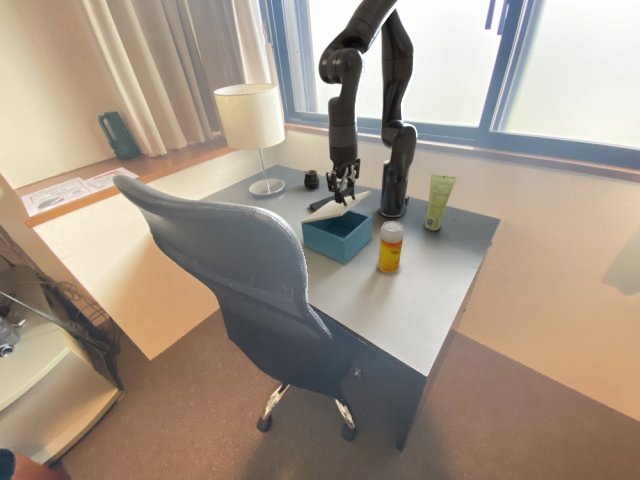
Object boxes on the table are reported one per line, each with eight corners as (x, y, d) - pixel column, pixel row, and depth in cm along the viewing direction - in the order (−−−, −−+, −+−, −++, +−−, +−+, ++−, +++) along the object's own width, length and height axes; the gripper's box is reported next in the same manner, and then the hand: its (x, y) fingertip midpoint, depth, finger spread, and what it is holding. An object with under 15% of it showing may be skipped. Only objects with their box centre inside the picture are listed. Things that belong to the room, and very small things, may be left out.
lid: (371, 192, 84) (365, 177, 82) (341, 215, 74) (333, 198, 73) (331, 203, 97) (325, 189, 96) (301, 223, 87) (294, 209, 86)
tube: (434, 221, 99) (445, 170, 88) (444, 228, 96) (457, 176, 84) (421, 225, 98) (431, 174, 86) (430, 232, 94) (442, 180, 83)
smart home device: (308, 204, 113) (346, 189, 121) (308, 207, 114) (346, 193, 122) (319, 212, 107) (358, 196, 115) (319, 215, 108) (358, 200, 116)
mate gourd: (322, 186, 130) (321, 166, 124) (314, 192, 125) (312, 172, 119) (310, 183, 133) (308, 163, 127) (301, 189, 128) (299, 169, 122)
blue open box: (371, 238, 94) (372, 216, 88) (344, 264, 84) (344, 241, 79) (331, 224, 103) (330, 203, 97) (304, 245, 93) (301, 223, 88)
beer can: (398, 275, 78) (405, 233, 69) (377, 273, 80) (380, 232, 71) (398, 262, 83) (404, 220, 74) (377, 260, 84) (381, 219, 75)
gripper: (346, 132, 77) (347, 186, 87) (314, 147, 69) (320, 205, 79) (369, 135, 73) (368, 191, 83) (339, 151, 65) (341, 212, 75)
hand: (344, 198), depth 81 cm, fingers closed on lid, 5 cm apart
